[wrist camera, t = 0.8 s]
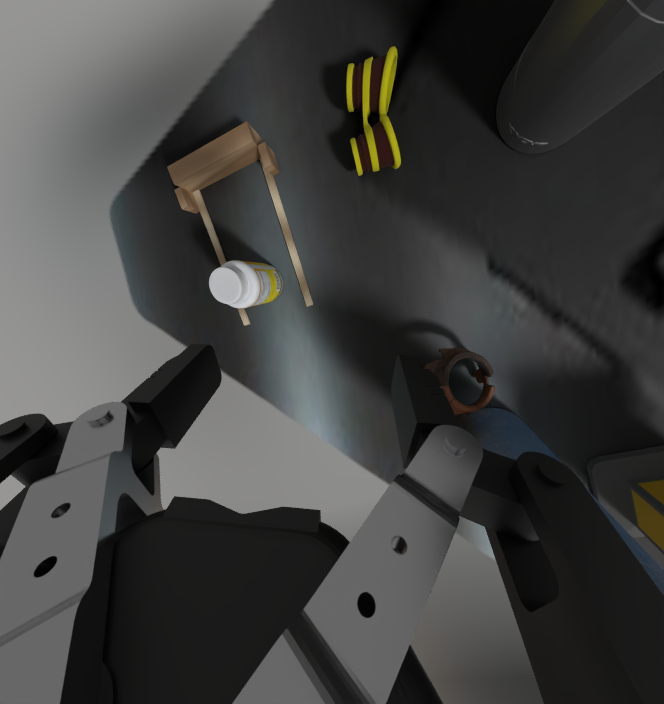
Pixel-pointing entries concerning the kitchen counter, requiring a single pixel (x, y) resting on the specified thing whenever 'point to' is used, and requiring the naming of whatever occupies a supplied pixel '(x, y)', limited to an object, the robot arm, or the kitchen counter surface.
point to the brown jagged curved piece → (485, 370)
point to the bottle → (516, 438)
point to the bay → (221, 162)
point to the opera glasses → (373, 96)
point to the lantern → (632, 490)
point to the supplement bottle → (245, 283)
